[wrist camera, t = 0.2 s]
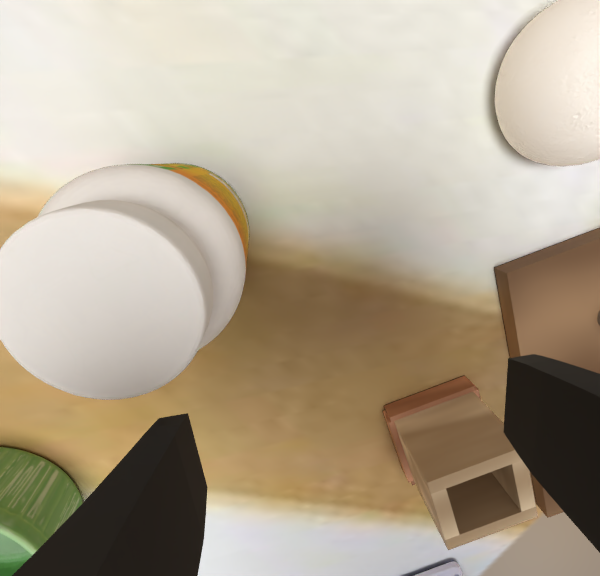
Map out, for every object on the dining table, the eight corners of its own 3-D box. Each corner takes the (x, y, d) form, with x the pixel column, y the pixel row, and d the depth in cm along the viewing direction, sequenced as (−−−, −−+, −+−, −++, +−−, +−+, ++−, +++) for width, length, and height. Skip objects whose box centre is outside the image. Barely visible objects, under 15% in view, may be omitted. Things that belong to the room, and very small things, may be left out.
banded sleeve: (482, 442, 22) (544, 518, 17) (403, 472, 22) (443, 556, 17) (467, 374, 20) (530, 438, 16) (381, 406, 20) (418, 480, 16)
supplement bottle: (205, 137, 15) (128, 99, 6) (272, 249, 17) (291, 351, 8) (94, 204, 16) (-138, 264, 6) (171, 307, 17) (77, 470, 8)
